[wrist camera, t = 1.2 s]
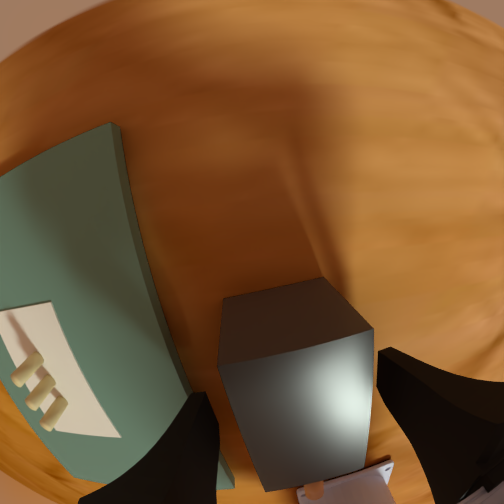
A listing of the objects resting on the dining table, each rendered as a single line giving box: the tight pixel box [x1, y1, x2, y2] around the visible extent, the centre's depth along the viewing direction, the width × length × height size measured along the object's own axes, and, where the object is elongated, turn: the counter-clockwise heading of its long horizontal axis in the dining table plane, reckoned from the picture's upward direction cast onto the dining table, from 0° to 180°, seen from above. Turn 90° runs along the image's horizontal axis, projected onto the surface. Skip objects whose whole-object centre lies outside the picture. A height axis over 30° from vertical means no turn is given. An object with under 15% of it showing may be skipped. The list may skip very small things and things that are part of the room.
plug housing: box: [217, 277, 374, 500], centre depth 11 cm, size 11×4×5 cm, turn 11°
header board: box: [0, 122, 235, 490], centre depth 11 cm, size 22×14×4 cm, turn 11°
